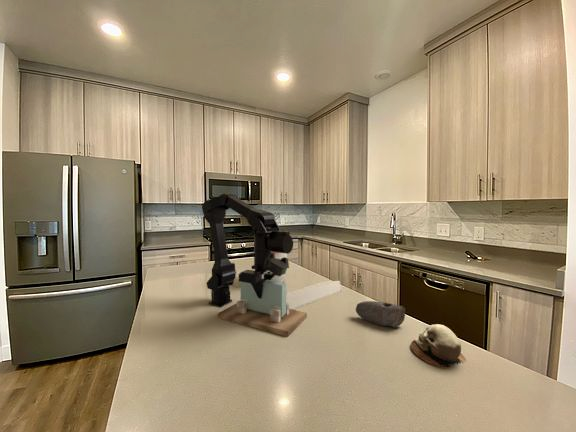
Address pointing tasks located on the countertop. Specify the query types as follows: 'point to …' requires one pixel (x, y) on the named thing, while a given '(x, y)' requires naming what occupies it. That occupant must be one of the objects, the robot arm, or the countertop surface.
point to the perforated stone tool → (381, 313)
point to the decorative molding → (312, 293)
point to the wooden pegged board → (264, 318)
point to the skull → (438, 346)
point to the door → (265, 297)
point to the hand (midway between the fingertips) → (262, 296)
